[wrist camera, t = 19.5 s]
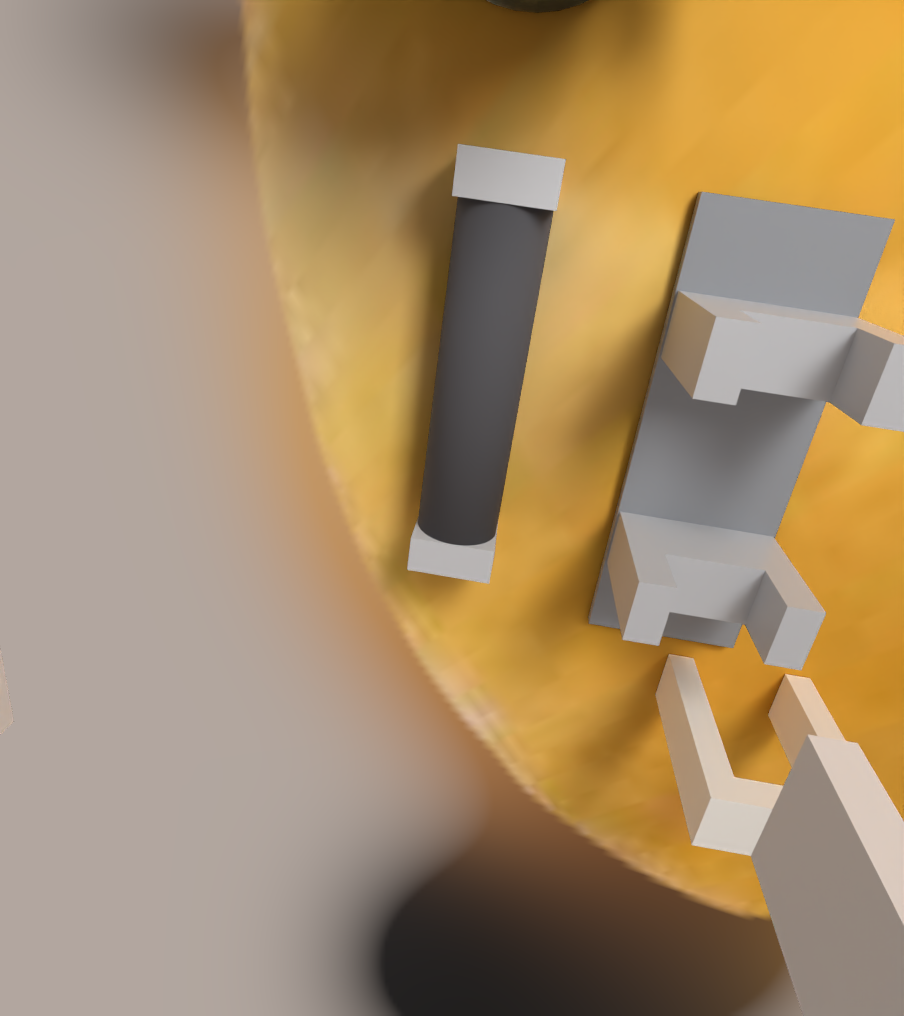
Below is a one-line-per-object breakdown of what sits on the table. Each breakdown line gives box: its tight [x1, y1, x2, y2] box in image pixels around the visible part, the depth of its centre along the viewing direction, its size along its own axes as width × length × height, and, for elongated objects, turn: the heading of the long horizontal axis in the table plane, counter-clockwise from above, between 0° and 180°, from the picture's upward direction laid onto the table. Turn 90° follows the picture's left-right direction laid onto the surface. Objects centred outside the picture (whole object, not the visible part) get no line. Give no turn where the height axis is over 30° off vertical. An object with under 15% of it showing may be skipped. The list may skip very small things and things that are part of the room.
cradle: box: [588, 192, 904, 670], centre depth 30 cm, size 22×8×8 cm, turn 172°
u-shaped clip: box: [655, 654, 846, 856], centre depth 35 cm, size 3×8×10 cm, turn 82°
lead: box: [407, 144, 566, 584], centre depth 32 cm, size 19×4×4 cm, turn 172°
